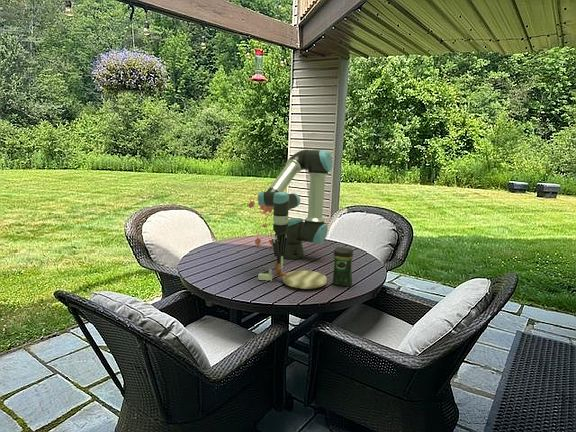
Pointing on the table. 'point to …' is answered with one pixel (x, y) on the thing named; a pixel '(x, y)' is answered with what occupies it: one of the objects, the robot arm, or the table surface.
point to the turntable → (301, 278)
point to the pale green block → (266, 276)
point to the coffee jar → (342, 266)
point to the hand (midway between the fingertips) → (279, 268)
